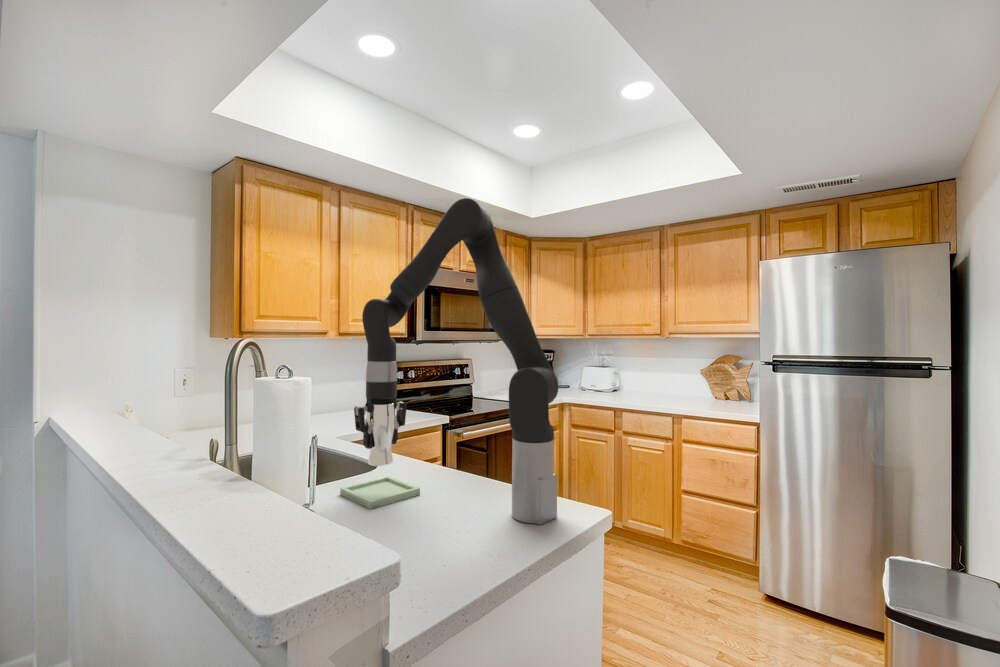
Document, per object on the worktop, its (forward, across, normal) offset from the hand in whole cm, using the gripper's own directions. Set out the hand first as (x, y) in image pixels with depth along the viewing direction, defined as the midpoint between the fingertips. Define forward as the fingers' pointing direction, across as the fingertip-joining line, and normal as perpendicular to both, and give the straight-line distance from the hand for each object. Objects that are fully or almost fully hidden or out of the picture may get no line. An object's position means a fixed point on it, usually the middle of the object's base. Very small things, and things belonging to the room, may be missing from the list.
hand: (380, 445), depth 119 cm
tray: (+12, 0, 0) cm, 12 cm away
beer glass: (+4, 0, 0) cm, 4 cm away
